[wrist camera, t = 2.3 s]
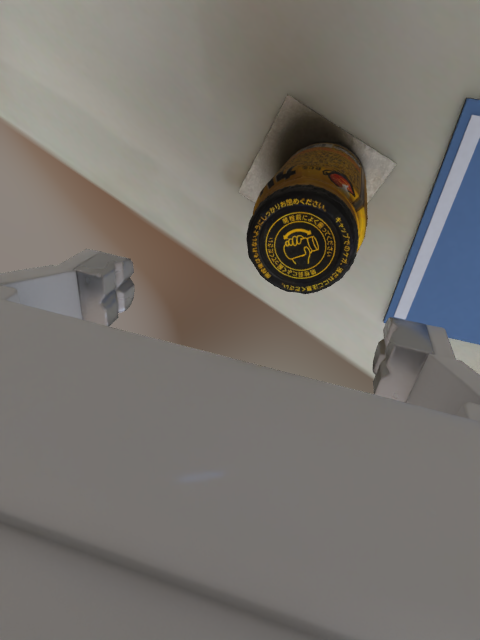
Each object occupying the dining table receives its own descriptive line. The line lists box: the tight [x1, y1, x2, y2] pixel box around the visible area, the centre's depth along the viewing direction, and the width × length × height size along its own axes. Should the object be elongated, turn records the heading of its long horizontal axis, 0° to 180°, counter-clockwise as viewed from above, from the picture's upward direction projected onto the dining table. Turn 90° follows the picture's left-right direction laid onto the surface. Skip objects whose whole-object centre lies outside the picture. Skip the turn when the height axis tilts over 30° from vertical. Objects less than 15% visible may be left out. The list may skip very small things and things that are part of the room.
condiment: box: [238, 95, 396, 294], centre depth 23 cm, size 7×8×12 cm
